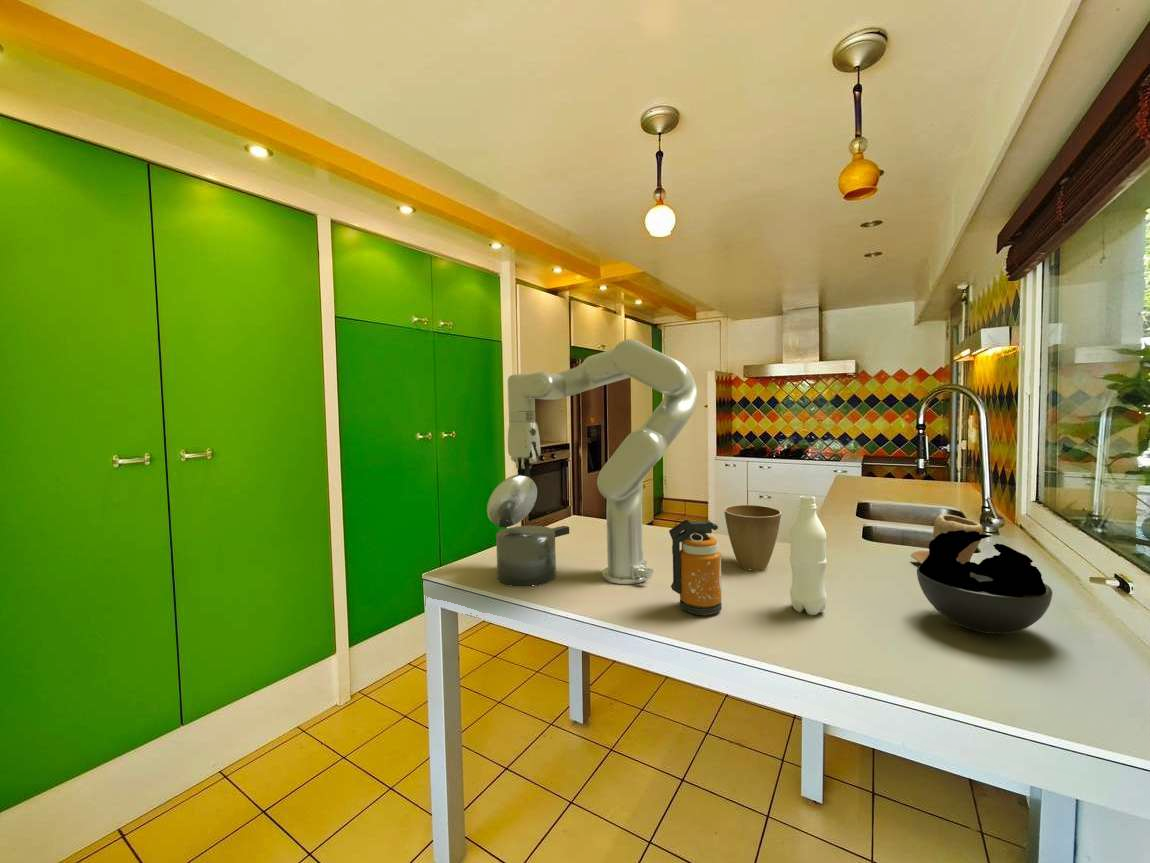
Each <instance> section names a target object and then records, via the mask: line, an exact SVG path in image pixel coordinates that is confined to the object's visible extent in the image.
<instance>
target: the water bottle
mask: <svg viewBox="0 0 1150 863" xmlns="http://www.w3.org/2000/svg"><path fill="white" fill-rule="evenodd" d="M798 508H799V511H798V514H797V515H796V517H795V519H794V521H793V523H792V524H791V527H790V529H789V540H790V541H789V542H790V543H789V551H790V553H789V554H790V555H789V563H790V567H791V577H792V578H791V585H790V589H789V598H790V603H791V604H792V607H793V608H794V610H795V611H797V612H798V613H802V612H803V611H804V609H805V612H806V613H807V615H810V616H815V615H818V614H819V613H820V614H821V613H823V612H824V611H825V609H826V606H827V600H828V597H827V592H826V587H825V573H826V567H827V564H828V562H827V556H826V554H827V553H826V551H827V549H826V548H827V547H826V546H827V544H826V541H827V540H826V539H827V533H826V530H825V528H824V526H823V524H822V522H821V520H820V518H819V517H818V515H817V510H816V509H817V504H816V497H815V496H813V495H800V496H799V503H798Z"/></svg>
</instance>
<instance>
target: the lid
mask: <svg viewBox="0 0 1150 863" xmlns="http://www.w3.org/2000/svg"><path fill="white" fill-rule="evenodd" d="M537 497H538V486H537V484H536V483H535V481H534V480H533V479H532V478H531V477H530V478H529V477H527V476H525V475H518V474H515V475H511V476H509V477H506V478H505V479H504V480H502V481H501V482H500V483H499V484H498V485H497V486H496V487H495V488H494V489H493V491H492V493H491V495H490V497H489V499H488V500H487V501H488V502H487V503H486V504H487V505H486V513H487V517H488V519H489V520H490V522H491V523H493V524H494V525H495V526H496V527H499V528H511V527H514V526H515V525H517V524H518V523H521V521H523V520H524V519H525V518H526V517H527V516H528V515H529V514H530V513H531V512H532V510H533V508H534V506H535V504H536V501H537Z"/></svg>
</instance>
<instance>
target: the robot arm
mask: <svg viewBox="0 0 1150 863" xmlns="http://www.w3.org/2000/svg"><path fill="white" fill-rule="evenodd" d="M629 378H632V379H633V380H636V381H638V382H640V383H641V384H644V385H646V386H648V387H650V388H652V390H653V389H654V390H655V391H657V392H659V393H661V394H663V398H662V400H661V402H660V403H659V405H658V406H657V407H655V409H654V411H653V412H652V414H651V415H650V416H649V417H648V419H647V420H646V421H645V423H644V424H643V425H642V426H641V427H640V428H639V429H636V430H634V431H631V432H630V433H629V434H628V435H627V436H626V437H625V439H623V441H622V442H621V443H620V444H619V446H618V447H617V449H615V452H614V453H613V454H612V455H611V456H610V458H608V460H607V461H606V463H605V464H604V465H603V466H602V467H601V470H600V471H599V472H598V476H597V482H596V483H597V488H598V491H599V493H600V494H601V495H602V497H603V498H605V499H606V548H607V549H606V553H607V555H606V556H607V566H606V567H605V568H604V569H603V570H602V571H601V577H602V578H603V579H604V580H605V581H607V582H609V583H613V584H617V585H634V584H639V583H643V582H645V581H647V580H651V579H652V576H653V574H654V571H655V570H654V568H651V567H647V561H646V560H644V551H643V550H644V548H643V546H644V544H643V543H644V541H643V492H644V491H643V488H644V487H643V485H644V479H645V477H646V476H647V475H648V474H649V472H650V471H651V470H652V469H653V467H654V466H655V465H656V464H657V462H659V461H660V460H661V459H662V458H663V456H664V454H665V452H666V451H667V449H669V447H670V445H672V443H673V442H674V440H675V439H676V437H677V436H678V435H679V434H680V432H682V430H683V429H684V427H685V426H686V424H688V422H689V420H690V419H691V417H692V415H693V414H694V412H695V409H696V406H697V402H698V388H697V384H696V381H695V379H694V376H693V375H692V373H691V371H690V369H689V368H688V367H687V366H686V365H684V364H683V363H682V362H680V361H678V359H675V358H672V357H671V356H669V355H666V354H664V353H663V352H661V351H658V350H656V349H654V348H652V347H650V346H648V345H646V344H644V343H642V342H641V341H640V340H637V339H632V338H631V339H630V338H629V339H624V340H622V341H620V342H618V343H617V345H616V346H615V347H614V348H612V349H609V350H605V351H602V352H599V353H596V354H593V355H589V356H587V357H586V358H585V359H584V360H583V362H581V363H580V364H579V365H578V366H575V367H573V368H570V369H567V370H566V369H565V370H564V371H560V372H556V373H552V372H547V371H539V372H533V373H529V374H528V373H527V374H526V373H522V374H521V373H519V374H518V373H516V374H511V375H509V376H508V377H507V402H508V404H507V405H508V430H507V452H508V455H509V457H510V460H511V461H512V462H514V463H515V467H516V469H517V475H525V476H527V477H529V478H530V479H531V468H532V464H533V463H537V461H538V460H537V458H538V457H540V456H541V453H542V452H541V440H540V430H539V425H538V423H537V422H536V400H553V401H554V400H560V399H564V398H567V397H571V396H574V395H577V394H581V393H583V392H587V391H590V390H593V389H596V388H599V387H601V386H602V387H603V386H605V385H609V384H611V383H615V382H619V381H623V380H627V379H629Z"/></svg>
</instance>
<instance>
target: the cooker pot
mask: <svg viewBox="0 0 1150 863" xmlns="http://www.w3.org/2000/svg"><path fill="white" fill-rule="evenodd" d="M569 534H570V526H567V525H561V526H557V527H553V528H551V527H549V526H543V525H520V526H518V525H517V526H510V527H506V528H504V529H499V530H498V531H497V532H496V534H495V538H496V540H495V542H496V545H495V546H496V567H497V568H496V572H497V581H498V580H499V581H500V582H501V584H502V583H503V584H502V585H504V584H506V585H505V586H508V585H512V586H511V587H514V586H530V587H533V586H532V585H537V586H540V585H539V584H542V585H544V584H543V583H545V584H547V582H548V583H550V582H551V580H552V581H553V580H555V579H556V578H557V559H556V556H557V555H556V538H558V537H562V536H566V535H569ZM499 581H498V582H499ZM549 581H550V582H549ZM500 582H499V583H500Z"/></svg>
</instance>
